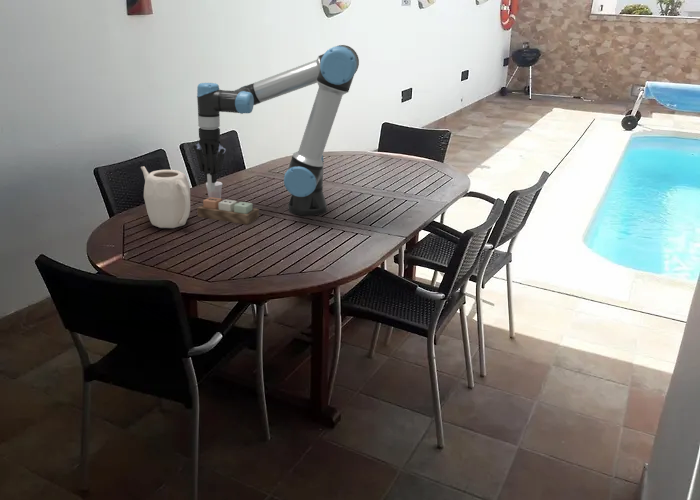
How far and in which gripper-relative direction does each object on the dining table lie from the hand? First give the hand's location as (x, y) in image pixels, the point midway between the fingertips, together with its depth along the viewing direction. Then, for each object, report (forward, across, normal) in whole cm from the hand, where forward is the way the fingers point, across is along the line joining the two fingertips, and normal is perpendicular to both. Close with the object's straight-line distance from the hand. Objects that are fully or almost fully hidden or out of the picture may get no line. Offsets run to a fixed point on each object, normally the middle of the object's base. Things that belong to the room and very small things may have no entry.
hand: (211, 190), depth 227 cm
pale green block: (+7, -13, 0) cm, 15 cm away
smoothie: (+10, +4, -9) cm, 14 cm away
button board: (+9, -7, 0) cm, 12 cm away
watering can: (+10, +9, +15) cm, 20 cm away
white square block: (+7, -7, 0) cm, 10 cm away
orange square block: (+7, 0, 0) cm, 7 cm away
